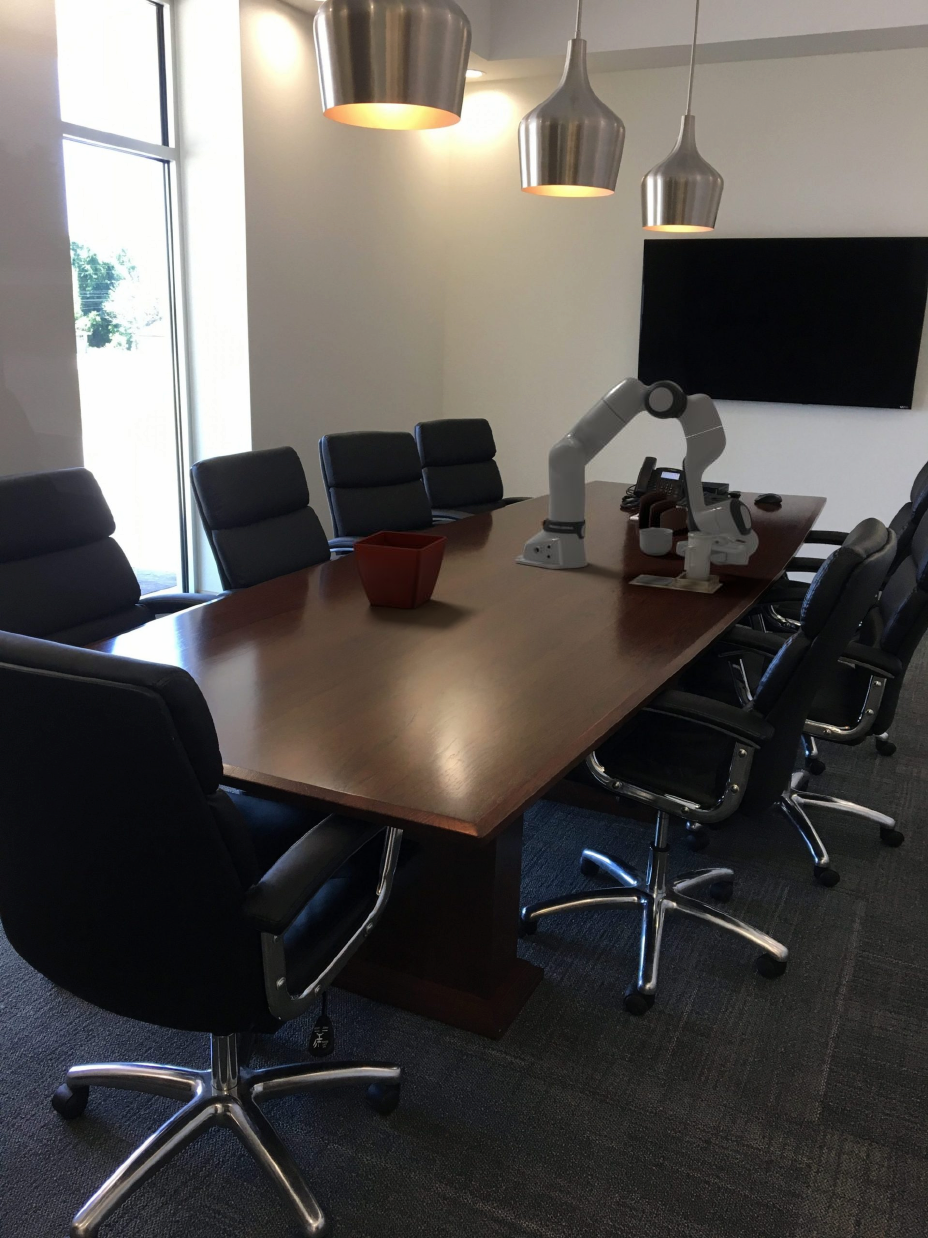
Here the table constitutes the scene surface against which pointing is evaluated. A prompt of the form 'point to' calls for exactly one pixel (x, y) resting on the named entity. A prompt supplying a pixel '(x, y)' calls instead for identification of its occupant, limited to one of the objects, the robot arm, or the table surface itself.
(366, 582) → the plant pot
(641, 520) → the letter holder
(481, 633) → the table surface
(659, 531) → the teacup
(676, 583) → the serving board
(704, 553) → the tall white canister
